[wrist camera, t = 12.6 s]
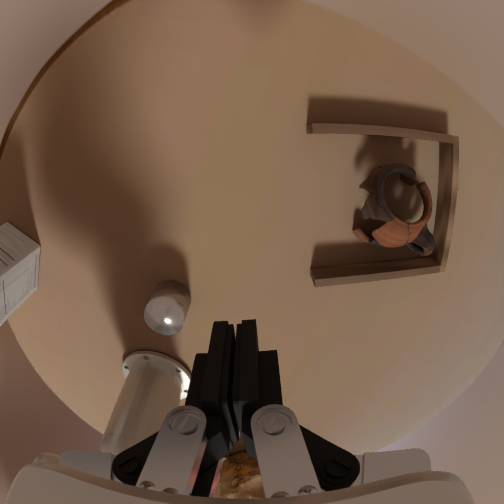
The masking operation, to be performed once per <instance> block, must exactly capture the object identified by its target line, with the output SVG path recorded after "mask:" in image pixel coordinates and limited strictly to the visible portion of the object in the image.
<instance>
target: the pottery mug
mask: <svg viewBox="0 0 504 504" xmlns="http://www.w3.org/2000/svg"><path fill="white" fill-rule="evenodd" d="M391 173H401V180H402V181H404V182H405V183H407V184H408V185H410V186H412V185H413V184H415V185H416V186H417V188H418V189H419V191H420V194H421V196H422V199H423V205H424V210H423V214H422V217H421V218H420V219H419V220H418V221H417V222H414V223H409V222H405V221H402V220H401V219H399V218H398V217H396V216H395V215H394V214H393V213H392V211H391V210H390V209H389V207H388V205H387V203H386V200H385V197H384V192H383V186H384V182H385V179H386V177H387V176H388V175H389V174H391ZM414 177H416V173H415V171H414V169H412V168H410V167H408V166H405V165H402V164H393V165H385V166H380V167H379V168H378V169H375V170H374V171H373V172H372V173H371V174H370V176H369V177H368V178H367V179H366V180H365V181H364V182H363V183H362V184H361V185H360V186H359V188H363V189H365V190H367V191H369V192H370V193H372V195H371V196H369V197H368V198H367V200H366V201H365V205H364V207H363V208H362V210H361V212H362V217H363V218H364V219H369V218H372V219H377V220H381V221H385V223H384V224H383V225H382V226H380V227H379V228H376V229H374V230H373V232H372V236H373V237H374V239H370V238H369V237H368V236H366V235H365V234H364V232H363V231H362V230H361V229H360V228H356V229H353V230H352V231H353V233H354V234H355V235H356V236H357V237H358V238H359V239H360V240H362V241H363V242H365V243H367V244H370V245H373V246H380V247H400V246H404V245H407V246H408V247H409V248H410V249H411V250H413V251H414V252H416V253H417V254H419V255H421V256H427V255H429V254H431V253H432V252H433V249H434V247H435V240H434V237H433V235H432V234H431V233H430V232H429V230H428V228H427V222H428V221H429V219H430V217H431V213H432V198H431V194H430V191H429V188H428V186H427V184H426V183H425V182H422V183H419V182H418V181H417V180H416V178H414Z"/></svg>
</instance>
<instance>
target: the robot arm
mask: <svg viewBox="0 0 504 504" xmlns="http://www.w3.org/2000/svg"><path fill="white" fill-rule="evenodd" d="M122 371H123V374H124V376H125V378H126V380H125V383H124V385H123V388H122V390H121V392H120V395H119V397H118V400H117V402H116V405H115V407H114V409H113V412H112V415H111V417H110V420H109V422H108V425H107V427H106V430H105V433H104V435H103V438H102V441H101V444H100V452H87V451H75V450H71V451H66V452H64V453H63V454H62V455H61V457H59V456H57V455H55V454H52V453H43V454H40V455H39V456H38V457H37V458H36V459H35V460H34V462H33V464H29V465H26V466H25V467H23V468H22V469H21V470H20V471H19V473H18V474H17V476H16V477H15V479H14V481H13V483H12V485H11V488H10V490H9V492H8V495H7V498H6V500H5V503H4V504H474V501H473V499H472V497H471V494H470V492H469V490H468V488H467V487H466V485H465V484H464V482H463V481H462V480H461V479H460V478H459V477H458V476H457V475H455V474H453V473H450V472H442V471H431V462H430V458H429V455H428V454H427V453H426V452H425V451H424V450H421V449H414V448H413V449H406V450H397V451H387V452H370V453H364V455H353V454H351V453H350V452H348V451H346V450H344V449H342V448H340V447H338V446H336V445H334V444H333V443H331V442H329V441H327V440H325V439H323V438H322V437H320V436H318V435H316V434H314V433H313V432H311V431H309V430H308V429H306V428H304V427H302V426H301V425H299V423H298V421H297V418H296V416H295V414H294V412H293V411H292V410H291V409H289V408H288V407H285V406H283V403H282V393H281V383H280V374H279V364H278V355H277V350H270V351H259V348H258V337H257V327H256V319H254V320H242V324H237V331H236V338H235V332H234V326H233V324H228V321H216V322H214V323H213V328H212V334H211V339H210V345H209V350H208V353H197V354H196V356H195V360H194V365H193V369H192V374H191V375H190V373H189V372H188V370H187V369H186V368H185V367H184V366H183V365H182V364H180V363H179V362H178V361H176V360H174V359H173V358H171V357H169V356H167V355H164V354H161V353H158V352H154V351H145V350H144V351H136V352H133V353H131V354H129V355H128V356H127V357H126V358H125V360H124V362H123V365H122ZM185 397H186V402H185V406H179V403H180V400H181V399H184V398H185ZM239 431H240V435H241V439H242V442H244V444H245V448H246V452H247V453H248V454H249V455H250V456H252V457H253V458H254V459H256V460H257V462H258V466H259V471H260V476H261V480H262V485H263V490H264V494H265V498H257V499H230V498H213V496H214V492H215V488H216V484H217V480H218V477H219V473H220V469H221V465H222V459H223V457H224V456H226V455H227V454H228V453H229V449H233V442H238V440H239Z"/></svg>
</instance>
